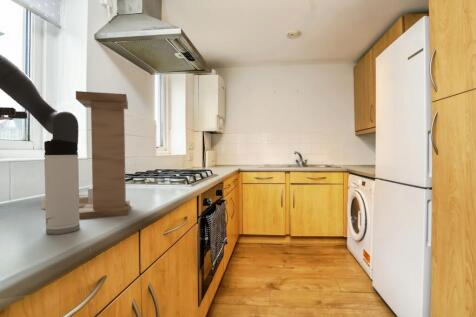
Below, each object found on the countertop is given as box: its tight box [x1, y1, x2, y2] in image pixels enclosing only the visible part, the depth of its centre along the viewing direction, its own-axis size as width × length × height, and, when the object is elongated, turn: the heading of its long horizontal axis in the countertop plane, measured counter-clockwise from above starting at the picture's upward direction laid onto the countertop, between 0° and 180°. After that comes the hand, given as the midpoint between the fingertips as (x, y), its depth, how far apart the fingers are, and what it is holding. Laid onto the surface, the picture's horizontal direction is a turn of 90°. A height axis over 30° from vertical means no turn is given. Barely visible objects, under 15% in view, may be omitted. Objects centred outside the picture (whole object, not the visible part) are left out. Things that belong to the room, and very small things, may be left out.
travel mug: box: [43, 138, 81, 236], centre depth 60 cm, size 6×7×20 cm
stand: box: [75, 90, 131, 220], centre depth 79 cm, size 14×12×33 cm
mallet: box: [40, 185, 93, 210], centre depth 88 cm, size 7×19×6 cm, turn 110°
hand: (21, 113), depth 83 cm, fingers open, 8 cm apart
